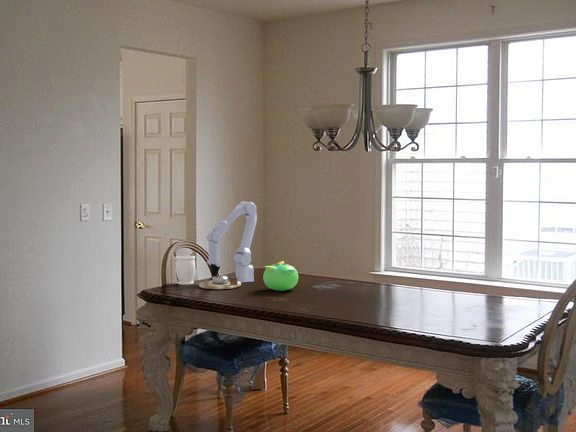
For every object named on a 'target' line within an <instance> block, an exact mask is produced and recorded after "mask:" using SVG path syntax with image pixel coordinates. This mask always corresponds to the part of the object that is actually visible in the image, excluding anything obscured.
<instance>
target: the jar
mask: <svg viewBox="0 0 576 432" xmlns="http://www.w3.org/2000/svg"><path fill="white" fill-rule="evenodd" d="M175 259H176V261H175V272H176V279H177V280H178V282H177V284H178V285H184V286H188V285H189V286H190V285H194V283H195V282H194V279H195V274H196V273H195V272H196V261H195V259H196V256H195V255H188V254H186V255H176V256H175Z"/></svg>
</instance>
